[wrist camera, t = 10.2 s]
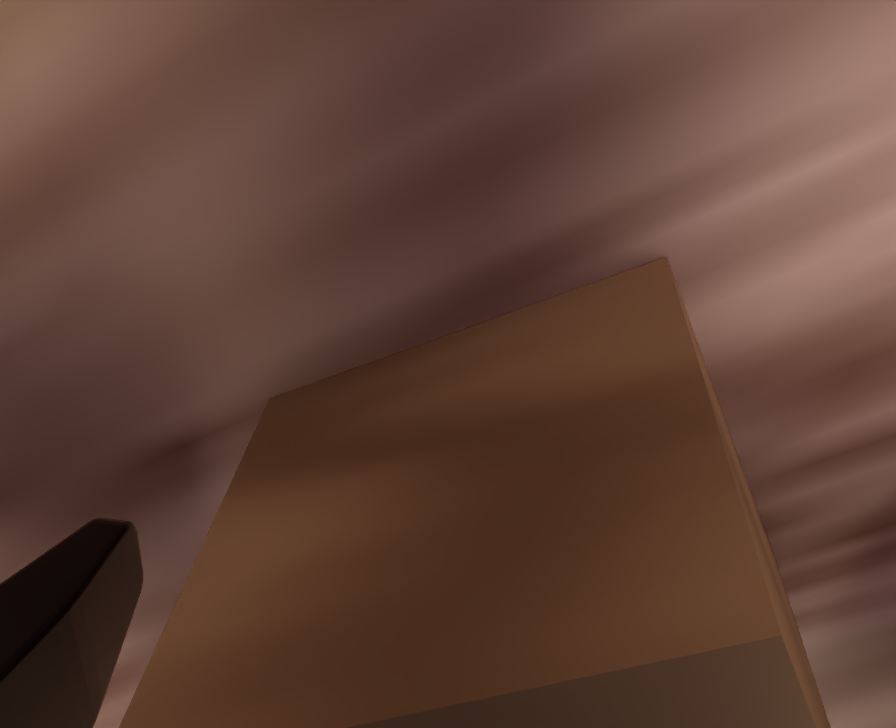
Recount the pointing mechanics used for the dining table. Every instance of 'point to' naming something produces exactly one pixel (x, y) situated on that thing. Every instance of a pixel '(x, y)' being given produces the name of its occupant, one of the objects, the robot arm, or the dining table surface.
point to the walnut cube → (493, 543)
